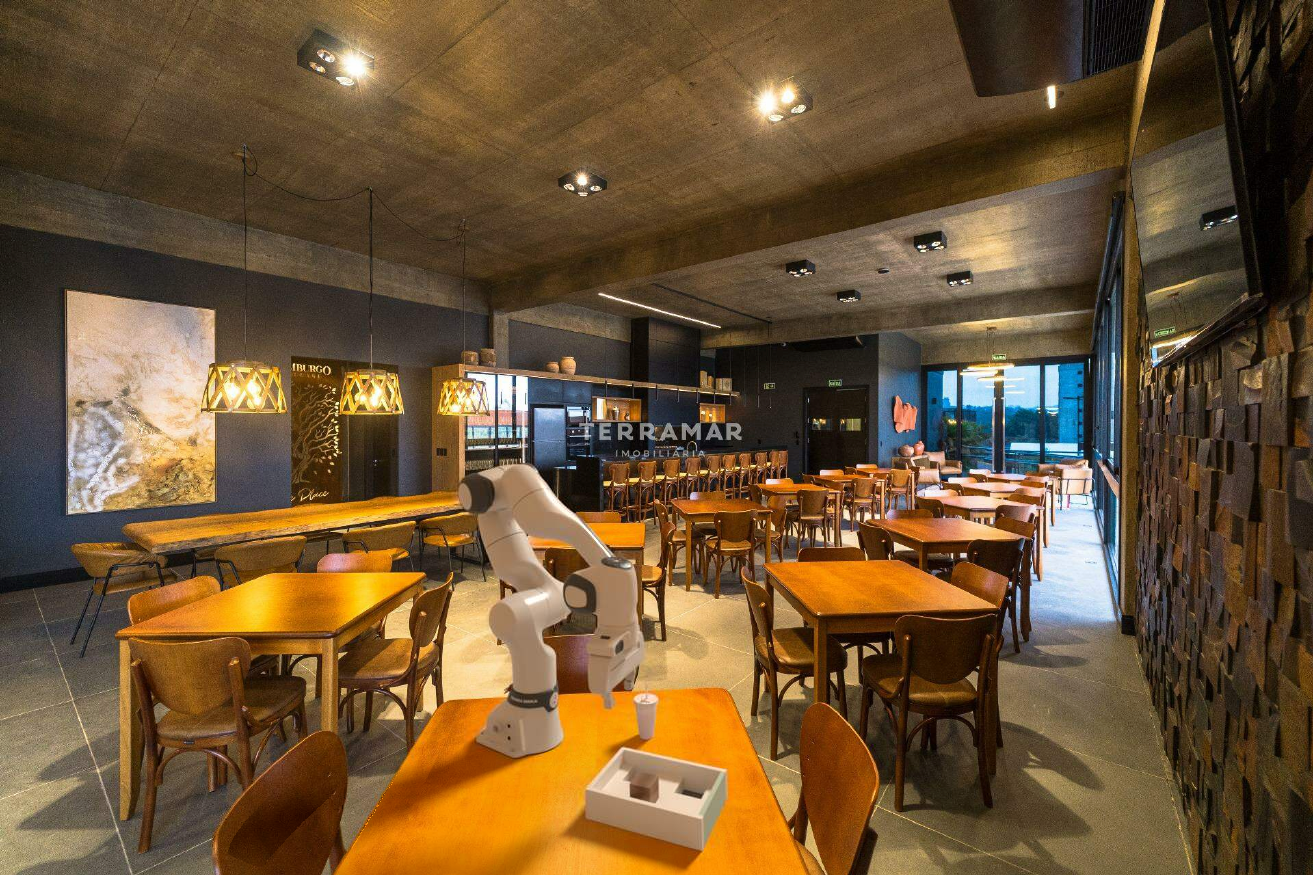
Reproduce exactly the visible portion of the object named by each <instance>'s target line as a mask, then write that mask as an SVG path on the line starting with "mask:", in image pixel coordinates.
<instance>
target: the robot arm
mask: <svg viewBox="0 0 1313 875" xmlns="http://www.w3.org/2000/svg"><path fill="white" fill-rule="evenodd" d="M457 496H458V501H459V504H460V505H461V508H462V509H463V510H464V511H466V513H468V514H471V515H478V516H477V523H478V528H479V533H480V536H481V540H482V543H483V546H484V549H485V551H486V552H485V553H486V554H487V556H488V559H489V562H490V564H491V567H492V568H493V572H494V574H495V576H496V577H497V578H498V579H500V580H501V581H504V582H506V583H508V584H510V585H511V586H512V587H513V588H514V589H515V590H516V592H514V593H512V594H509V595H507V596H506V597H503V598H502V599H501V600H498V601H497V602H496V603H494V604H493V605H492V607H491V608H490V611H489V614H488V625H489V628H490V630H491V632H492V634H493V635H494V636H495V637H496V638H497V639H498V640H500V641H502V642H503V643H504V644H505V645H506V647H507V649H508V652H509V655H510V659H511V670H512V671H511V672H512V683H510V684H509V685H508V686H507V687H506V688H505V689H503V691H504V692H503V695H506V694H507V693H508V695H507V697H506V698H505V699H504V700H502V701H501V702H500V703H499V704H498V705H496V706H495V707H494V708H493V709H492V710H490V712H489V713H488V715H487V717H486V718H487V719H486V723H485V726H484V727H483V728H482V729H480V731H479V732H478V733H477V735H476V738H475V741H476V743H478V744H480V745H483V746H485V747H486V748H487V747H488V748H490V749H492V750H494V751H496V752H499V753H501V754H503V755H505V756H508V757H511V758H512V759H517V758H521V757H524V756H526V755H534V754H538V753H543V752H546V751H549V750H551V749H553V748H555V747H557V746H558V745H559V744H561V742H563V739H564V735H565V734H564V731H563V728H562V723H561V720H560V715H559V714H560V713H559V682H558V680H557V655H556V652H555V650H554V649H553V648H552V647H551V646H550V645H548V644H546V643H544V639H543V630H544V629H547V628H549V627H551V626H554V625H556V624H558V623H559V622H562V620H563V619H565V618H566V617H567V616H568V615H570V614H571V612H572V613H573V614H576V615H587V616H588V615H592V614H593V615H596V617H597V627H596V628H595V630H594V632H593V633H592V634H593V635H592V636H591V637H590V639H589V641H588V642H587V643H586V649H585V650H586V654H589V656H588V660H587V681H588V690H590V692H591V694H593V695H599V696H601V698H602V699H603V708H605V710H606V709H607V710H612V709H613V708H614V706H615V704H616V703H615V701H616V700H615V698H614V697H613V696H612V694H613V689H614V688H615V687H616V686H618V685H619V684H620V683H621V682H622V681H623V680H624V679H625V680H624V681H623V688H624V690H626V691H631V690H632V689H633V688H634V686H635V678H636V674H637V668H638V667H639V666H640V665H641V664H643V662H644V660H645V656H646V655H645V654H646V653H645V651H646V650H645V640H644V635H643V632H642V631H641V627H640V626H641V625H639V617H638V616H639V615H638V612H637V604H638V601H639V598H638V597H639V594H638V590H639V589H638V580H637V574H636V569H635V566H634V564H633V562H631V560H628V559H627V558H624V557H621V556H616V555H615V554H614V553H613V552H612V551H611V550H610V549H609V547H607V545H606V544H605V543H604V542H603V541H602V539H601V538H600V537H599V536H598V535H597V534H596V532H594V530H593V529H592V528H591V527H590V526H589V524H588V523H586V521H584V519H582V517H580V516H579V515H577V514H576V513H575V512H573V511H571V510H570V509H569V508H567V506H565V505H564V503H562V501H561V500H559V498H558V497H557V496H556V495H555V493H554V492H553V491H552V489H551V488H550V486H549V485H548V483H547V482H546V481H545V480H544V479H543V478H542V476H541V475H540V473H539V470H538V469H537V468H536V467H535V465H533V464H532V463H528V462H518V463H515V464H514V463H513V464H505V465H498V466H494V468H490V469H489V468H488V469H486V470H483V471H479V472H473V473H470V474H468V475H465V476H464V477H462V478H461V479H460V481H459V484H458V486H457ZM527 535H528V536H530V537H532V538H535V539H539V540H549V541H556V542H561V543H564V544H567V545H569V546H571V547H573V548H574V549H575V550H576V551H577V552H578V554H579V555H580V556H581V557H582V558H583V559H584V560H585V562H586V563H587V564H588V565H589V567H586V568H584V569H580V570H577V571H575V572H572V573H570V574H568V576H567V577H566V578H565V580H564V582H562V581H560V580H558V579H556V578H555V577H553V576H552V574H551V573H549V572H548V571H547V570H546V569H545V567H544V566H543V564H542V563H541V562H540V561H539V559H538V558H537V556H536V553H535V551H534V550H533V547H532V544H531V543H530V540H529V538H528V536H527Z"/></svg>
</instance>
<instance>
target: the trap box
mask: <svg viewBox="0 0 1313 875" xmlns="http://www.w3.org/2000/svg"><path fill="white" fill-rule="evenodd" d="M638 772H643V773H647V774H652V775H656V776H659V799H658V800H657V802H656V803H651V802H647V801H643V800H639V799H635V798H631V797H630V782H631V781H632V780H633V778H634V777H635V776H636V775H637V773H638ZM584 795H585V796H584V797H585V798H584V802H585V806H584V807H585V819H586V820H589V821H594V822H596V823H600V824H604V825H607V826H611V827H614V828H615V827H616V828H618V829H622V830H624V831H629V832H632V833H636V834H640V835H643V836H645V837H646V836H647V837H650V838H653V839H658V840H661V841H664V842H668V843H672V844H675V845H678V846H682V847H686V848H689V849H692V850H696V851H700V852H703V851H704V849H705V847H706V844H707V842H708V840H709V838H710V835H711V833H712V831H713V829H714V827H715V825H716V823H717V820H718V818H719V816H720V815H721V812H722V811H723V807H724V806H725V803H726V802H727V799H728V770H727V769H726V768H720V767H716V766H710V765H708V764H707V765H705V764H702V763H698V762H693V761H688V760H684V759H679V758H674V757H670V756H665V755H660V754H655V753H653V752H647V751H643V750H638V749H633V748H629V747H625V746H622V747H621V748H620V749H618V751H617V752H616V753H615V754H614V756H612V758H611V759H610V760H609V761H608V762H607V764H606V765H605V766H604V767H603V768H602V769H601V770H600V771H599V772H598V774H597V775H596V776H595V777H594V778H593V779H592V781H590V782H589V784H588V785H587V786H586V788H584Z"/></svg>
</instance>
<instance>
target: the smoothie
mask: <svg viewBox="0 0 1313 875" xmlns="http://www.w3.org/2000/svg"><path fill="white" fill-rule="evenodd" d="M644 683H645V684H644V685H645V687H644V688H645V693H639V694H637V695H636V696H634V698H633V704H634V707H635V713H636V714H635V715H636V721H637V728H638V735H639V738H640V739H642V740H651V739H653V737H654V734H655V727H656V726H655V725H656V716H657V705H658V704H659V697H658V696H657V695H655V694H653V693H649V692H648V691H649V690H648V682H647V681H646V682H644Z"/></svg>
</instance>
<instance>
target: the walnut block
mask: <svg viewBox="0 0 1313 875" xmlns="http://www.w3.org/2000/svg"><path fill="white" fill-rule="evenodd" d="M630 797H631V798H635V799H639V800H643V801H647V802H651V803H656V802H657V800H658V799H659V776H656V775H652V774H647V773H643V772H638V773H637V775H636V776H635V777H634V778H633V780H632V781H631V782H630Z"/></svg>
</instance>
